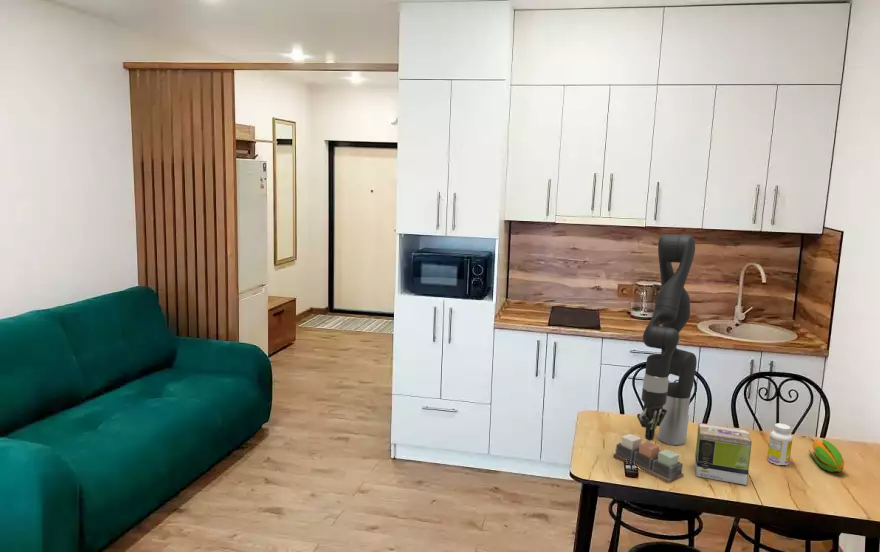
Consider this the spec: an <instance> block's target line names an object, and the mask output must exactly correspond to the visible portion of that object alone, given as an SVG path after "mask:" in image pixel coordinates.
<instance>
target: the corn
mask: <svg viewBox="0 0 880 552" xmlns="http://www.w3.org/2000/svg"><path fill="white" fill-rule="evenodd" d="M812 448H813V451H814V453H815V455H816V456H814V455H813V453H812V452H811V451H810V450H808V451H809V454H810V455H811V457H812V458H813V460H814V461H815V463H816V464H817V465H818V467H820V469H822V468H823V470H824V469H825V470H827V471H826V472H834V471H837V472H836V473H838V472H839V473H840V472H841V471H843V470H844V467H845V460H844V458H843V455H842V453H841V452H840V451H839V449H838V448H837V447H836V446H835V445H834V444H833V443H832V442H830V441H827V440H826V439H824V438H823V439H821V440H818V439H817V440H813V442H812ZM825 470H824V471H825Z"/></svg>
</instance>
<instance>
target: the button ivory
mask: <svg viewBox="0 0 880 552" xmlns="http://www.w3.org/2000/svg"><path fill="white" fill-rule="evenodd" d="M620 443H621V445H622V446H624V447H626V448H628V449H631V450H635V449H637V448H639V446H640V444H642V438H641V437H639V436H636V435H633V434H631V433H629V434H625V435H623V436H621V442H620Z"/></svg>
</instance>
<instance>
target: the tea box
mask: <svg viewBox="0 0 880 552" xmlns="http://www.w3.org/2000/svg"><path fill="white" fill-rule="evenodd" d="M697 425H698V426H697V438H696V446H695V455H694V468H695V469H694V470H695V476H696V477H699V478H704V479H709V480H710V479H711V480H716V481H721V482H729V483H732V484H733V483H734V484H738V485H744V486H747V484H748V480H749V479H748V478H749V468H750V462H751V461H750V460H751V453H752V445H753V444H752V439H751V436H750V433H749V430H748V429H745V428H744V429H743V428H737V427H728V426H722V425H718V424H709V423H703V422H699V423H698V424H697Z"/></svg>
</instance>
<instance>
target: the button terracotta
mask: <svg viewBox="0 0 880 552" xmlns="http://www.w3.org/2000/svg"><path fill="white" fill-rule="evenodd" d="M660 448H661V447H660V445H658V444H655V443H652V442H650V441H645V442H643V443H642V442H641V444H640V446H639V454H642V455H644V456H646V457H648V458H654V457H656V456H658V453H659V452H660Z"/></svg>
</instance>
